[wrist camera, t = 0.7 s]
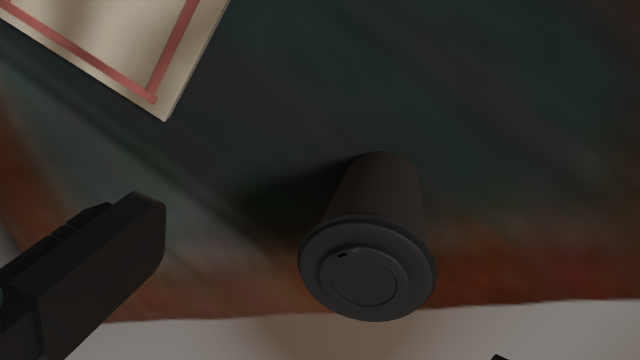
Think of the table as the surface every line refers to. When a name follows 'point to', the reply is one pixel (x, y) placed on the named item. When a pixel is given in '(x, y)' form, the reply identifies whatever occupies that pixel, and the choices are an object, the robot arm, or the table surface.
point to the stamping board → (125, 41)
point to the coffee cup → (371, 243)
